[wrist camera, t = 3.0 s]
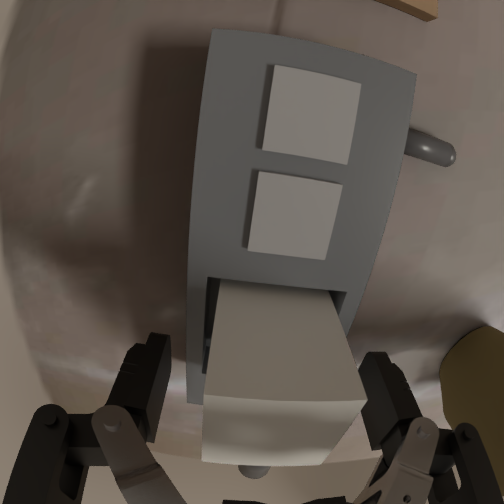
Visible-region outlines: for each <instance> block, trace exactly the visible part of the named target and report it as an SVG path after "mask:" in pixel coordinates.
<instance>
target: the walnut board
mask: <svg viewBox="0 0 504 504" xmlns="http://www.w3.org/2000/svg"><path fill="white" fill-rule="evenodd" d="M375 1H378V2H381V3H383V4H386V5H389V6H391V7H394V8H396V9H399V10H401V11H404V12H406V13H408V14H411V15H413V16H415V17H417V18H419V19H422V20H424V21H426V22H428V21H431V20H434V19H436V18H438V0H375Z"/></svg>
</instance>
